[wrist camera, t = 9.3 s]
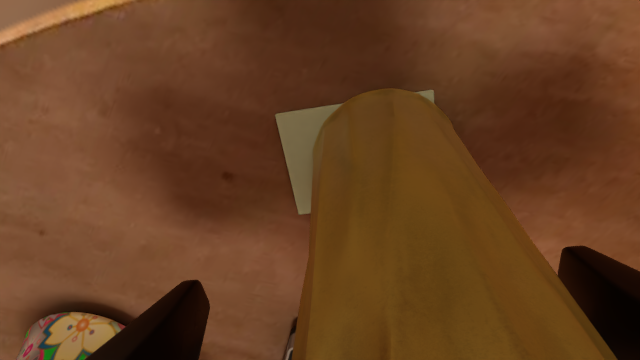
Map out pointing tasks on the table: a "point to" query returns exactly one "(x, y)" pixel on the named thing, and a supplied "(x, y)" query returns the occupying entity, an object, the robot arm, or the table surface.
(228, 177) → the table surface
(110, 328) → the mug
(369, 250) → the vase
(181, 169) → the table surface
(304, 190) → the coaster
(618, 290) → the robot arm
